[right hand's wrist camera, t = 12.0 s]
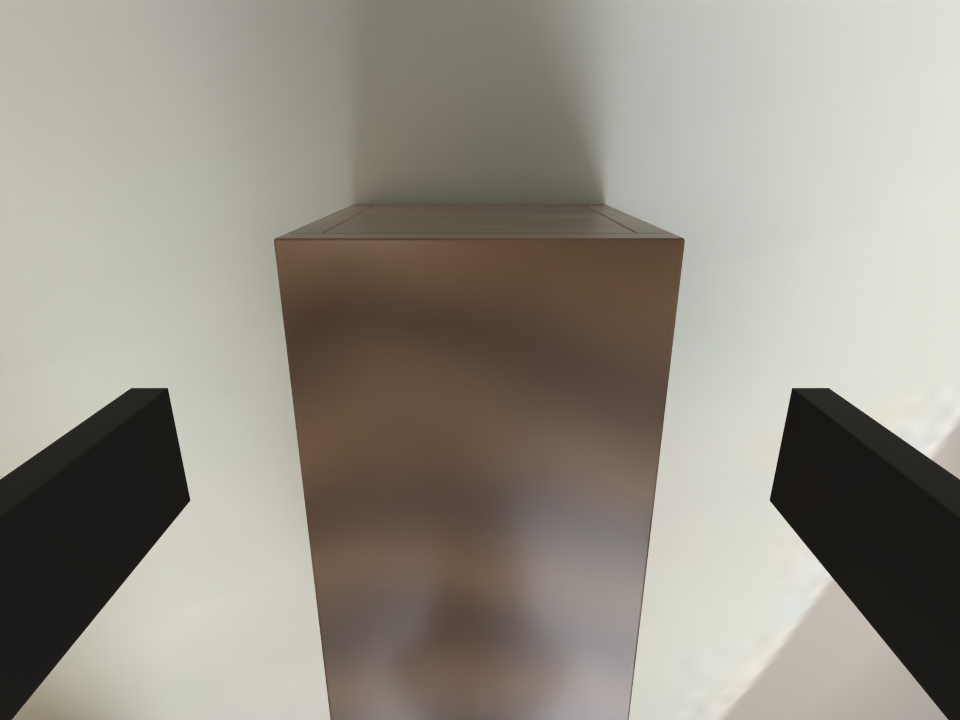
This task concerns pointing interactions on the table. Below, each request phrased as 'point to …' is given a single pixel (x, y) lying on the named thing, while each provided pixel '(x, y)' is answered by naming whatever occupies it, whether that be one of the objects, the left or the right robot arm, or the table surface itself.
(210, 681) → the table surface
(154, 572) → the table surface
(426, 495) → the cabinet
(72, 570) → the right robot arm
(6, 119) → the table surface
